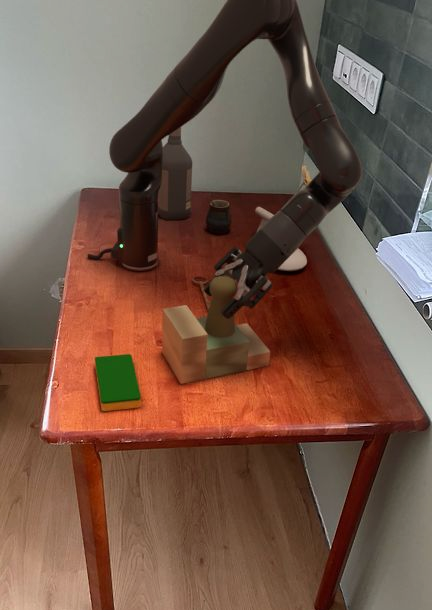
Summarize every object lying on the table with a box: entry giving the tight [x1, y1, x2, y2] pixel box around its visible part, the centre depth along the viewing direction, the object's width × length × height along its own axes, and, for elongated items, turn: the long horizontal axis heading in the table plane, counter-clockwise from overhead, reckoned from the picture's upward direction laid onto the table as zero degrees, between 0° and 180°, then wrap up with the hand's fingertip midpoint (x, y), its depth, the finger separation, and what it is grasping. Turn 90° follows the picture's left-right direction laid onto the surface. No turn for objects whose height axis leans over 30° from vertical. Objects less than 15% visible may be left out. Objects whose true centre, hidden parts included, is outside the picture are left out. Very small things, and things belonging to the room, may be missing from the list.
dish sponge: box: [94, 353, 142, 412], centre depth 116 cm, size 7×14×2 cm, turn 13°
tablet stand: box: [254, 206, 275, 234], centre depth 169 cm, size 9×8×8 cm
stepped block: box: [161, 304, 271, 385], centre depth 122 cm, size 19×11×10 cm, turn 113°
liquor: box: [158, 127, 193, 221], centre depth 172 cm, size 9×9×30 cm
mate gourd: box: [205, 199, 233, 235], centre depth 171 cm, size 7×8×10 cm
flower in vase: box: [276, 165, 312, 272], centre depth 153 cm, size 13×11×25 cm
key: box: [191, 276, 211, 311], centre depth 146 cm, size 6×1×15 cm
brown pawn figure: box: [205, 276, 238, 338], centre depth 118 cm, size 6×6×11 cm
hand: (215, 304), depth 117 cm, fingers open, 8 cm apart
